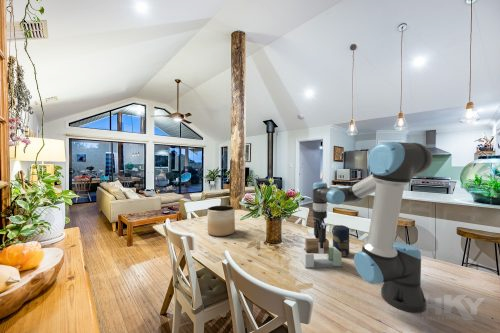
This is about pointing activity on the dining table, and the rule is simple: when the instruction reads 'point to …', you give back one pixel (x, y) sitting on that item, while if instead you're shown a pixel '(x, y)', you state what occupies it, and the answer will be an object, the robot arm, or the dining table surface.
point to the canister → (341, 239)
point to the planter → (221, 220)
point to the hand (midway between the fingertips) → (319, 251)
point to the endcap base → (315, 261)
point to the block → (315, 246)
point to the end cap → (335, 256)
